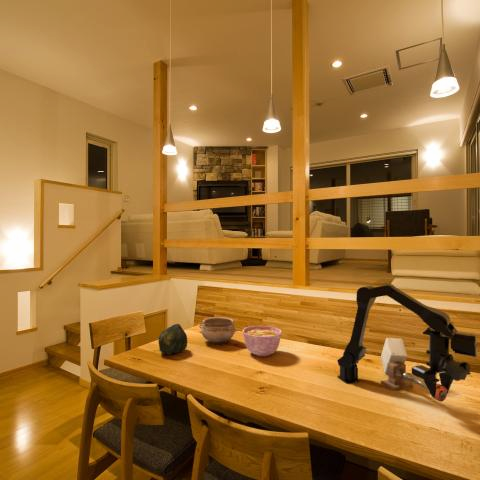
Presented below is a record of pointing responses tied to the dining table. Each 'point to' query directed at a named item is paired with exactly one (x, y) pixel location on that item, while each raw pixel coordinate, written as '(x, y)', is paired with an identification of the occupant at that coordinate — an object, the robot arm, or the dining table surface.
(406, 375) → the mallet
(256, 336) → the bowl of food
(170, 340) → the squash
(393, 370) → the wall mount bracket
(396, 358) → the skincare box
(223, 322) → the cooking pot
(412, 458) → the dining table surface
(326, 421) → the dining table surface
